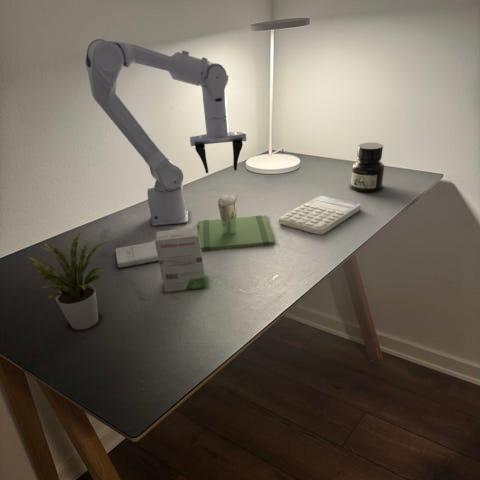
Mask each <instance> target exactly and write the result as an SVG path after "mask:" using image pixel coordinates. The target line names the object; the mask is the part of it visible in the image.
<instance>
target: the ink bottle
mask: <svg viewBox="0 0 480 480" xmlns="http://www.w3.org/2000/svg"><path fill="white" fill-rule="evenodd" d="M383 149H384V145H383V144H382V143H378V142H362V143H359V144H358V146H357V152H356V153H357V154H356V155H357V156H356V159H357V160H356V161H355V162H354V163H352V170H351V181H350V188H351V189H353V190H355V191H358V192H363V193H372V192H377V191H379V190H380V189H381V188H382V187H383V181H384V173H385V164H384V163H383V162H382V161H381V160H382V157H383Z"/></svg>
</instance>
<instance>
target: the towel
mask: <svg viewBox="0 0 480 480" xmlns="http://www.w3.org/2000/svg"><path fill="white" fill-rule="evenodd" d="M198 231H199V238H200V245H201V252H203V251H213V250H214V251H215V250H227V249H237V248H238V249H239V248H249V247H261V246H271V245H272V246H273V245H275V242H276V241H275V238H274V236H273V232H272V229H271V226H270V223H269V219H268V216H267V215H266V214H265V215H261V214H260V215H254V216H243V217H236V233H235V234H232V235H226V234H224V233H223V229H222V223H221V218H220V219H204V220H199V221H198Z"/></svg>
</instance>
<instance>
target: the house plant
mask: <svg viewBox="0 0 480 480" xmlns="http://www.w3.org/2000/svg"><path fill="white" fill-rule="evenodd" d="M80 235H81V232H79V233H78V234H76V236H75V237H74V238H73V241H72V243H71V247H70V254H69V259H70V264H69V262H68V260H67V257H66V256H65V254H64V253H63V252H62V251H61V250H60V249H59V248H58V247H55V246H52V245H51V244H49V243H47V242H44V241H42V244H43V245H44V246H45V247H47V248H45V247H43V246H41V248H42V249H44V250H46V251H48V252H50V253H51V254H53V255H54V256H55V258H56V259H57V262H58V264H59V265H60V266H61V268H62V271H63V272H64V275H63V274H62V273H60V272H58V270H57V269H55V268H54V267H53V266H52V265H51V264H49V263H48V262H46V261H44V260H41V259H39V258H36V257H33V256H25V258H27V259H30V260H32V261H31V263H32V264H33V265H34V266H35V268H36V269H37V271H35V272H33V274H35V273H37V272H38V273H39V274H40V275H42V276H40V277H39V280H47V281H49V282H50V283H52V284H50V285H49V284H48V285H44V286H39V288H40V289H51V290H59V292H56V291H55V292H51V293H50V294H49V296H48V297H47V300H49V299H50V298H55V302H56V303H57V305H58V306H59V309H60V310H61V311H62V313H63V315H64V317H65V318H66V320H67V322H68V323H69V326H70V327H71V328H72V329H73V330H86V329H90V328H91V327H94V326H95V325H96V324H97V323H98V322H99V309H98V300H97V291H96V287H94V285H92V284H90V283H92V282H94V281H97V280H99V279H102V278H104V279H105V277H104V276H102V275H98V274H99V273H101V272H104V273H105V271H104V270H103V269H102V268H99V267H94V268H93V269H91V270H90V271H89V272H88V273H87V275H86V276H85V279H84V278H83V277H84V272H85V270H86V269H87V267H88V265H89V264H90V262H91V261H92V260H93V257H91V256H92V255H93V254H94V253H95V252H96V251H97V250H98V249H99V248H100V247H102V246H103V245H106V244H108V243H110V242H111V241H110V240H109V241H104V242H100V243H98V244H97V245H95V246H94V247H93V248H91V250H89V252H88V253H87V254H86V251H87V248H88V247H87V246H88V244H89V242H86V243H85V244H84V245H83V246H82V247H81V248H80V249H79V250H78V246H79V245H78V244H79V238H80ZM77 250H78V251H77ZM80 251H81V252H80ZM77 253H80V257H79V261H78V263H77V260H78V256H77ZM83 279H84V281H83Z"/></svg>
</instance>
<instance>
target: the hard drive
mask: <svg viewBox="0 0 480 480" xmlns="http://www.w3.org/2000/svg"><path fill="white" fill-rule="evenodd" d="M115 255H116V264H117V267H118V269H121V268H128V267H134V266H138V265H143V264H148V263H153V262H159V259H158V254H157V249H156V244H155V240H154V241H148V242H143V243H139V244H132V245H127V246H122V247H116V248H115Z"/></svg>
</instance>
